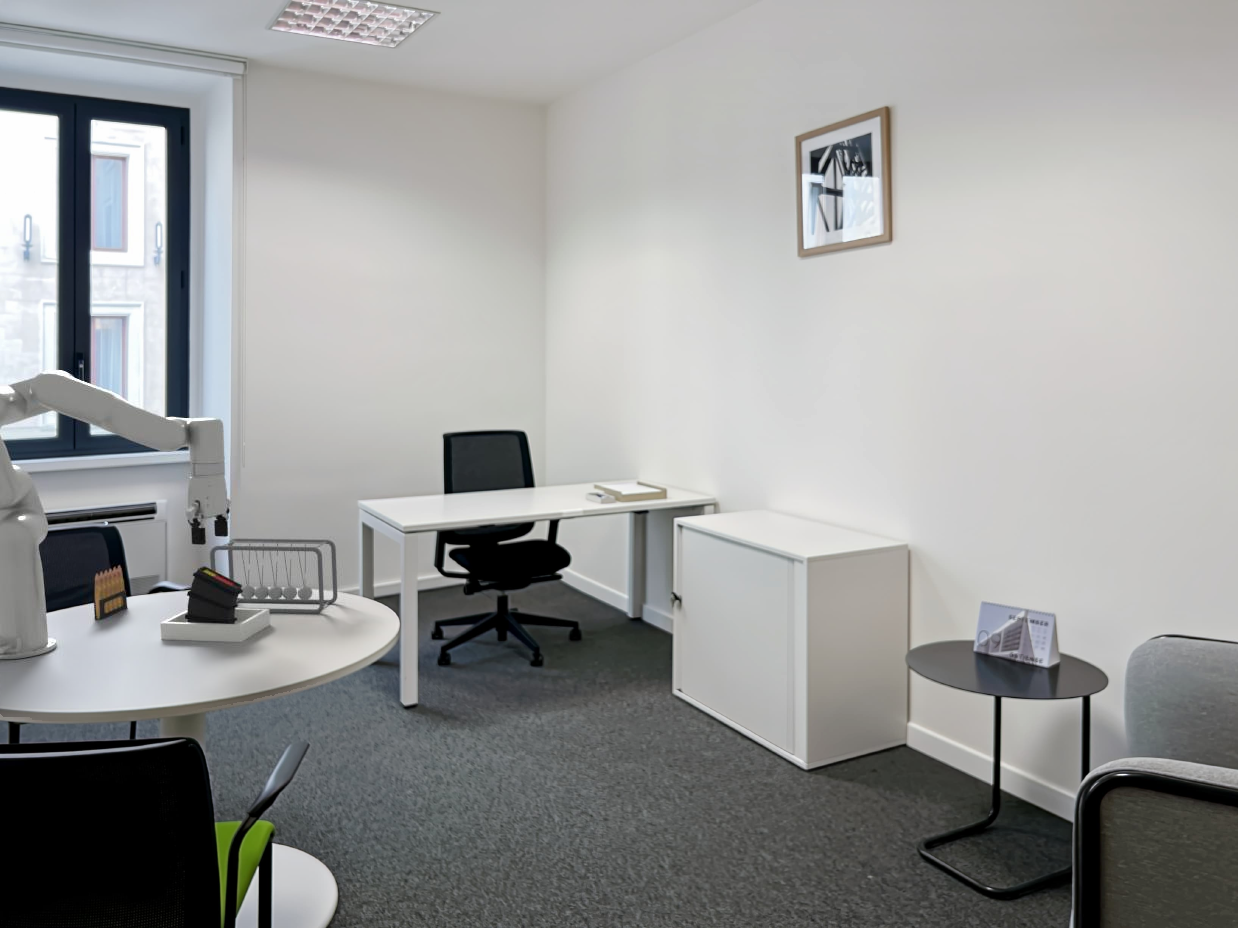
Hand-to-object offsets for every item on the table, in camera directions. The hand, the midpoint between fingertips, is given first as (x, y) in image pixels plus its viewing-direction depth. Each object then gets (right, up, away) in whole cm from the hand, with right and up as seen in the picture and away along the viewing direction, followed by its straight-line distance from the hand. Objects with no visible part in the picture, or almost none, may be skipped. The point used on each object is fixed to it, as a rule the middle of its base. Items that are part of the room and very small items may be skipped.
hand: (210, 540), depth 219 cm
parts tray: (0, -23, +3) cm, 23 cm away
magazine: (0, -22, +3) cm, 22 cm away
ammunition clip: (-34, -21, +18) cm, 44 cm away
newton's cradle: (+7, -20, +24) cm, 32 cm away
